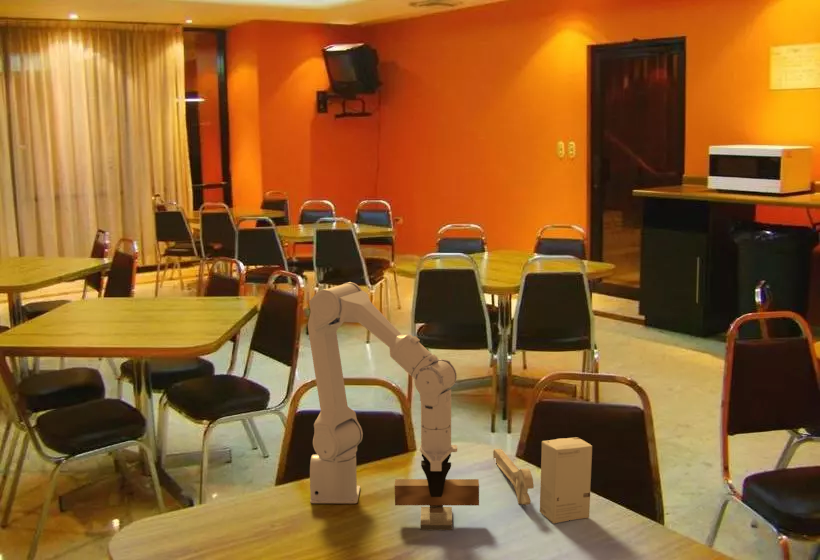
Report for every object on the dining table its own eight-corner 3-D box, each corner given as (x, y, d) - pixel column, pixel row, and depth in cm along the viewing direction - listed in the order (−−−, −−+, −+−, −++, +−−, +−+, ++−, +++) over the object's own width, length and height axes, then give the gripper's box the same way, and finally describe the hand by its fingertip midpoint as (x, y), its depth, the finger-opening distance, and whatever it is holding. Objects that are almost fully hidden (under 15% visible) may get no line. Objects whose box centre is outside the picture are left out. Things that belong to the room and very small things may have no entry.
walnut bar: (395, 505, 171) (394, 485, 171) (395, 498, 174) (395, 479, 174) (479, 505, 171) (479, 485, 170) (478, 498, 174) (478, 479, 173)
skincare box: (553, 524, 171) (554, 450, 168) (538, 511, 177) (539, 440, 174) (591, 517, 174) (593, 444, 171) (575, 505, 180) (577, 434, 177)
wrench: (500, 471, 204) (534, 514, 175) (492, 472, 204) (525, 515, 174) (500, 436, 204) (533, 473, 174) (492, 437, 204) (524, 474, 174)
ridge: (420, 530, 169) (420, 512, 169) (421, 511, 177) (421, 494, 177) (452, 530, 169) (452, 512, 169) (451, 511, 177) (451, 495, 176)
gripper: (458, 438, 162) (457, 508, 165) (456, 412, 177) (456, 477, 179) (419, 438, 163) (419, 508, 165) (420, 412, 177) (421, 477, 179)
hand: (436, 492), depth 172 cm, fingers closed on walnut bar, 3 cm apart
